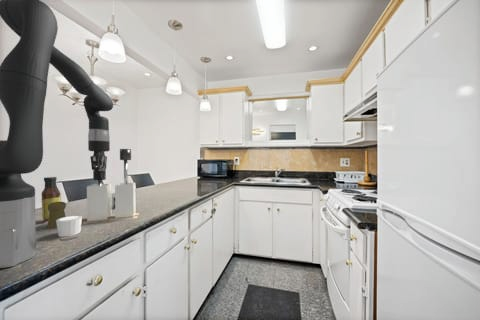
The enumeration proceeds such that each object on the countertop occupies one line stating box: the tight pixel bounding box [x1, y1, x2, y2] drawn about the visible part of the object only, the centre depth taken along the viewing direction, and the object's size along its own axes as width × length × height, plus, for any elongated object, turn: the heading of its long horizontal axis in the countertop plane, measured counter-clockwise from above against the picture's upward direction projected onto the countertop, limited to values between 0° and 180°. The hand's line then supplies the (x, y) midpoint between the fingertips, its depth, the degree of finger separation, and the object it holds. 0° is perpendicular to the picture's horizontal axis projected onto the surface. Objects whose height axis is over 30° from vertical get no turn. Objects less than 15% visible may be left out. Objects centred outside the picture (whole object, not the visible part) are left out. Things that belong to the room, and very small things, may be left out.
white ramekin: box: [56, 215, 83, 242], centre depth 67 cm, size 7×7×7 cm
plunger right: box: [119, 148, 132, 185], centre depth 86 cm, size 5×5×20 cm
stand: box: [81, 211, 140, 225], centre depth 85 cm, size 10×20×2 cm, turn 112°
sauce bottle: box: [41, 176, 62, 223], centre depth 85 cm, size 7×6×20 cm
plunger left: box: [92, 167, 107, 186], centre depth 83 cm, size 5×5×20 cm
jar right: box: [114, 182, 137, 219], centre depth 86 cm, size 7×7×15 cm
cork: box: [46, 201, 67, 230], centre depth 74 cm, size 6×6×11 cm
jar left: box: [86, 183, 112, 222], centre depth 83 cm, size 7×7×15 cm
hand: (99, 179), depth 83 cm, fingers closed on plunger left, 4 cm apart
